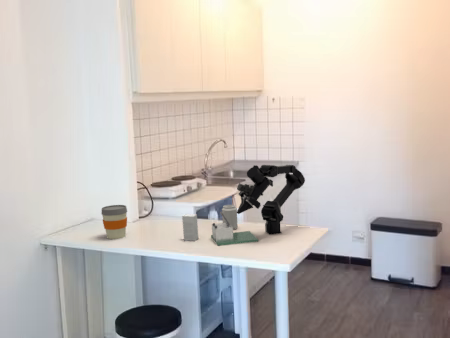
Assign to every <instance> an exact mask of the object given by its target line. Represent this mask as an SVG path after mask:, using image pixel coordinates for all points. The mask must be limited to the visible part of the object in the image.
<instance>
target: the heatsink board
mask: <svg viewBox="0 0 450 338" xmlns="http://www.w3.org/2000/svg"><path fill="white" fill-rule="evenodd" d="M211 239H212V240H213V241H214V243H215V244H216V245H217V246H228V245H237V244H239V245H240V244H247V243H256V242H259V239H258V238H257V236H255V235H254V234H253V233H252V232H251V231H250V230H248V231H238V232H237V231H236V232H234V230H233V227H232V226H231V225H228V224H227V223H223V222H220V223H215V222H212V223H211Z"/></svg>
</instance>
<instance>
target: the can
mask: <svg viewBox="0 0 450 338" xmlns="http://www.w3.org/2000/svg"><path fill="white" fill-rule="evenodd" d="M237 210H238V208H237V207H236V205H235V204H224V205H223V206H222V208H221V212H222V213H223V215H224V216H225V218H226V219H227V221H228V222H229V224H230V225H231V226H232V227H233V231H235V230H236V229H237V228H238V227H239V226H238V213H237ZM221 216H222V215H221ZM222 223H227V222H226V221H225V219H224V218H223V216H222Z"/></svg>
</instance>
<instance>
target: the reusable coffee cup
mask: <svg viewBox="0 0 450 338" xmlns="http://www.w3.org/2000/svg"><path fill="white" fill-rule="evenodd" d="M127 212H128V208H127V205H124V204H111V205H106V206H104V207H102V208H101V215H102V224H103V227H104V230H105V233H106V238H107V239H108V240H119V239H123V238H125V237H126V232H127V231H126V230H127V228H126V227H127V226H128V217H127Z"/></svg>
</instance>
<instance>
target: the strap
mask: <svg viewBox="0 0 450 338" xmlns="http://www.w3.org/2000/svg"><path fill="white" fill-rule="evenodd" d="M219 213H220V215H221V216H223V218H224V219H225V221H226V222H227V224H228V225H230V224H229V222H228V221H227V219H226V218H225V216H224V215H223V213H222V211H219Z"/></svg>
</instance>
